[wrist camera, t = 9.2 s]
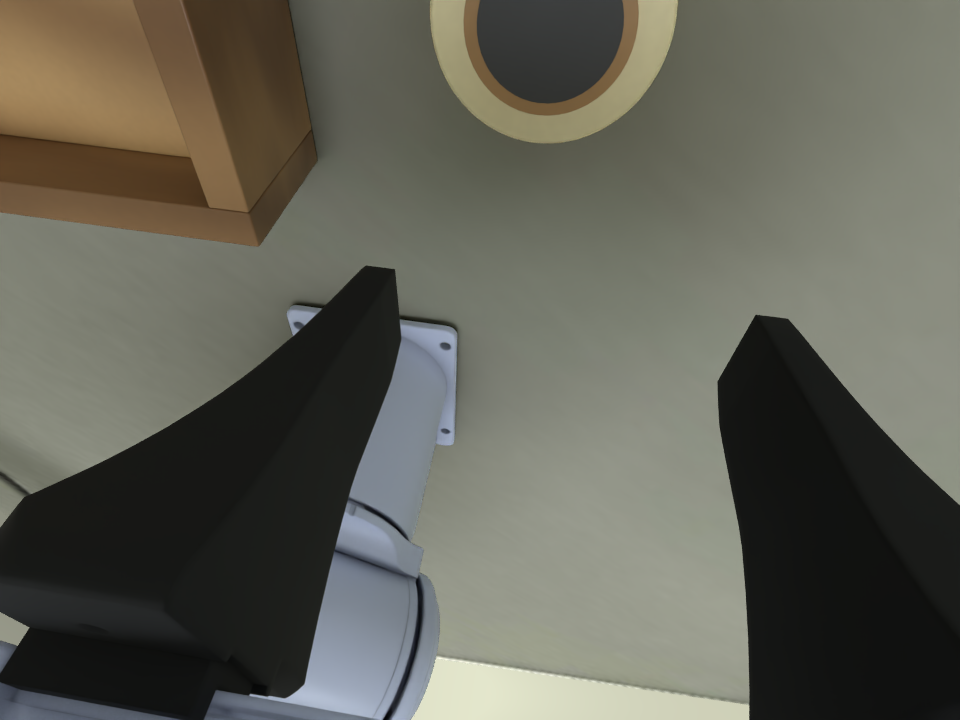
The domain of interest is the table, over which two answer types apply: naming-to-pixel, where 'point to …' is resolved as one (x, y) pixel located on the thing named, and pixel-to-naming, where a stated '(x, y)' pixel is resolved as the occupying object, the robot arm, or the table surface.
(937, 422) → the table surface
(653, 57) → the tape roll
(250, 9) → the shelf
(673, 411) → the table surface
